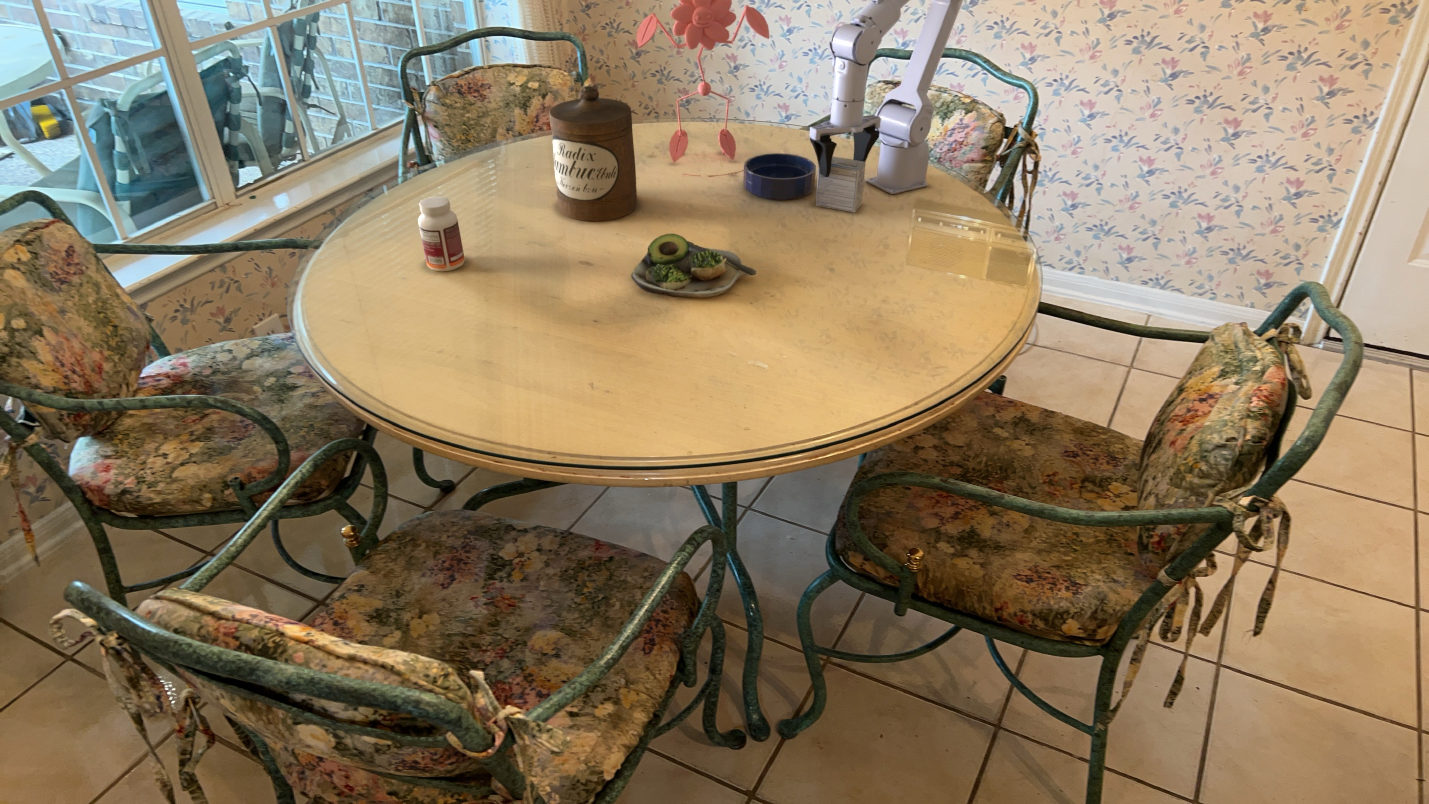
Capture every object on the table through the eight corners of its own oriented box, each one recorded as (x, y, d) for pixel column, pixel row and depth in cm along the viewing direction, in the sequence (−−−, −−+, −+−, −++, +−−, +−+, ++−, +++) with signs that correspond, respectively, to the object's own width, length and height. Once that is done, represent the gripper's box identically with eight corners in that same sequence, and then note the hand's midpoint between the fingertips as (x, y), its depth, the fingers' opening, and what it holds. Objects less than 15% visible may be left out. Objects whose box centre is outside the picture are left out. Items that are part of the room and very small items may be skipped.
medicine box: (862, 205, 172) (866, 161, 167) (854, 214, 168) (859, 169, 163) (822, 198, 174) (826, 154, 169) (814, 206, 171) (818, 162, 166)
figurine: (641, 153, 194) (634, -24, 174) (760, 151, 195) (767, -25, 175) (641, 180, 181) (634, -8, 161) (769, 177, 183) (777, -9, 163)
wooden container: (543, 214, 167) (530, 94, 154) (582, 186, 178) (573, 72, 165) (614, 227, 162) (607, 104, 150) (650, 198, 174) (646, 81, 161)
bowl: (788, 170, 186) (789, 148, 184) (828, 193, 176) (830, 171, 174) (730, 182, 180) (730, 160, 178) (768, 207, 171) (769, 184, 168)
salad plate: (768, 261, 152) (769, 235, 149) (739, 310, 138) (739, 283, 135) (660, 245, 157) (660, 220, 154) (621, 292, 143) (620, 265, 140)
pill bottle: (460, 253, 153) (450, 191, 147) (469, 268, 149) (458, 205, 143) (423, 260, 151) (411, 197, 145) (430, 275, 147) (418, 212, 140)
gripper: (828, 109, 154) (822, 185, 162) (895, 97, 160) (885, 171, 168) (804, 98, 159) (799, 173, 167) (870, 87, 165) (862, 159, 173)
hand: (841, 171), depth 167 cm, fingers open, 7 cm apart
